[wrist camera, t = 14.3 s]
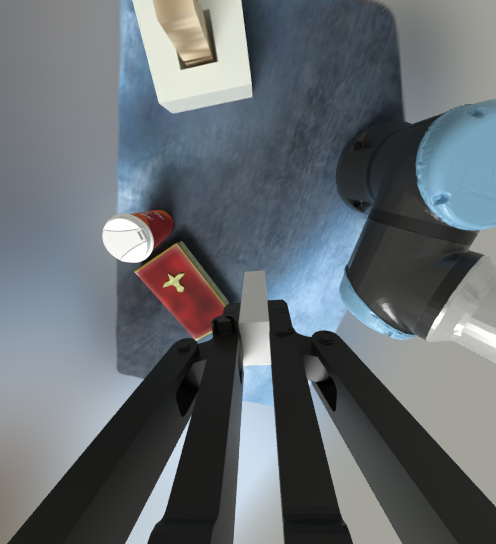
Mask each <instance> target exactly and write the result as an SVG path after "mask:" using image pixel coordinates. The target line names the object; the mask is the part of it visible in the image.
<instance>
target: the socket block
mask: <svg viewBox="0 0 496 544" xmlns="http://www.w3.org/2000/svg"><path fill="white" fill-rule="evenodd" d="M200 3H201V6H202V9H203V12H204V16H205V18H206V22H207V25H208V28H209V31H210V34H211V37H212V43H213V49H214V55H215V61H216V62H214V63H210V64H206V65H201V66H197V67H192V68H187V66H186V64H185V63H184V62H183V60H182V58H181V56H180V55H179V53H178V52H177V50H176V49H175V47H174V45H173V44H172V42H171V41H170V39H169V37H168V36H167V34H166V33H165V31H164V30H163V28H162V26H161V25H160V23H159V22H158V20H157V17H156V12H155V8H154V4H153V0H133V4H134V8H135V12H136V16H137V19H138V23H139V27H140V31H141V35H142V39H143V43H144V47H145V51H146V55H147V58H148V62H149V66H150V70H151V74H152V78H153V82H154V86H155V90H156V94H157V97H158V101H159V104H160V105H162V106H163V107H164V108H166V109H167V110H168V111H170V112H171V113H172V114H173V113H178V112H183V111H188V110H193V109H197V108H202V107H207V106H212V105H217V104H221V103H226V102H231V101H236V100H241V99H245V98H250V97H252V82H251V74H250V67H249V59H248V51H247V43H246V35H245V27H244V19H243V11H242V3H241V0H200Z"/></svg>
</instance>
